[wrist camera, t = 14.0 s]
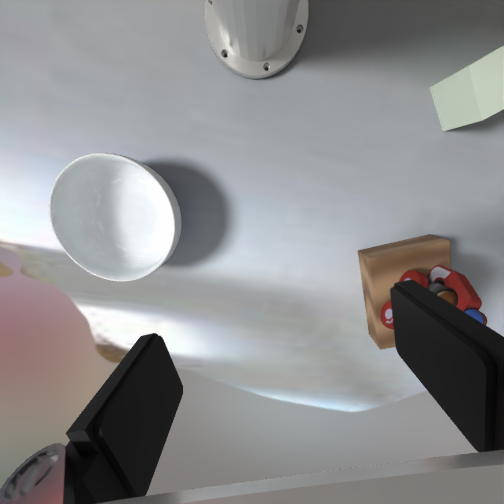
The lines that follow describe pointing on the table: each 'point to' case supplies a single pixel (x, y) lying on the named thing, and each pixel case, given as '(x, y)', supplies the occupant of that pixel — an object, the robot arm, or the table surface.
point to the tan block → (395, 275)
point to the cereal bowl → (114, 216)
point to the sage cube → (471, 92)
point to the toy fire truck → (442, 292)
